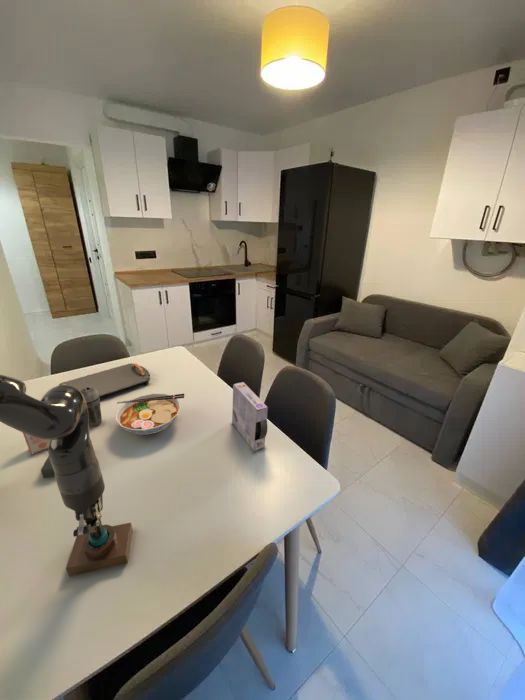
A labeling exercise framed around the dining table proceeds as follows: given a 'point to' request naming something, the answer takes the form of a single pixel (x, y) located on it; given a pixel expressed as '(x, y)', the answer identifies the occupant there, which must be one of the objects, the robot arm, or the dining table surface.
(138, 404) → the ramen bowl
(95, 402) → the beverage cup
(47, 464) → the dial panel
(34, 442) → the pink printed box
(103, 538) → the button
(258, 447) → the cake pan box
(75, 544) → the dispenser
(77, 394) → the robot arm
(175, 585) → the dining table surface
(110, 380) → the serving tray
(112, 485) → the dining table surface
